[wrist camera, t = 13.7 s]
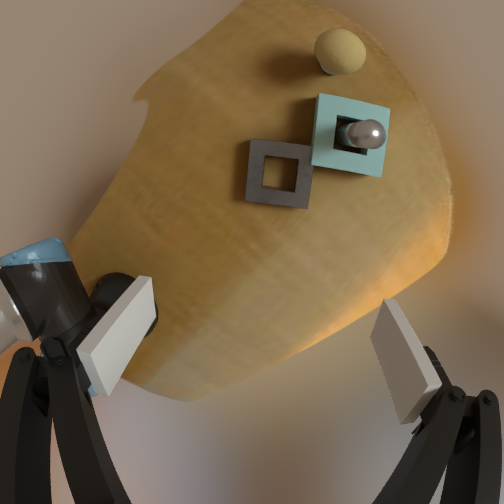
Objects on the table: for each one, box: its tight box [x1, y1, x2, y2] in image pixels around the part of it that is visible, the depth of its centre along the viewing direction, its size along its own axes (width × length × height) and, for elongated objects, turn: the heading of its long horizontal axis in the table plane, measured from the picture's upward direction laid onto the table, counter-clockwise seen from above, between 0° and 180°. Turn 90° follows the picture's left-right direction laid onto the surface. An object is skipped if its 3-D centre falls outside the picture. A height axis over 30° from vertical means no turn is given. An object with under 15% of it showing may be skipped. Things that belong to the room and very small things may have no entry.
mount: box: [245, 139, 314, 209], centre depth 39 cm, size 9×9×2 cm
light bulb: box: [314, 28, 366, 75], centre depth 28 cm, size 6×6×10 cm
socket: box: [310, 93, 390, 178], centre depth 34 cm, size 10×10×4 cm
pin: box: [336, 119, 386, 149], centre depth 30 cm, size 3×3×13 cm
